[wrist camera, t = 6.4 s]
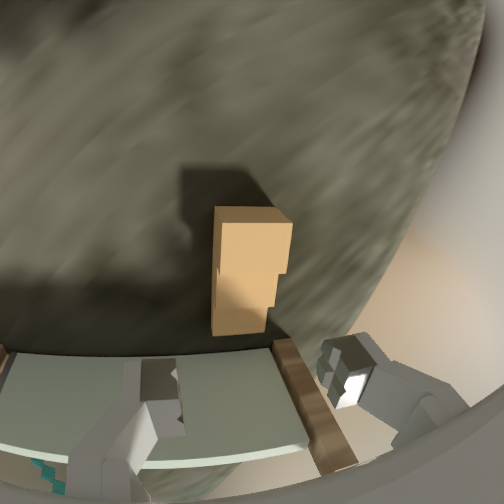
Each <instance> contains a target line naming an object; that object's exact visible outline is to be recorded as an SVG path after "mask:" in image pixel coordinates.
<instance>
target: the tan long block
mask: <svg viewBox="0 0 504 504" xmlns="http://www.w3.org/2000/svg"><path fill="white" fill-rule="evenodd" d="M292 226H293V223H292V222H291V221H290V220H289V219H288V218H287V217H285V216H284V215H283V214H282V213H281V212H280V211H279V210H278V209H277V208H276V207H252V206H215V210H214V233H213V262H212V303H211V330H212V335H213V336H225V335H238V334H251V333H262V332H265V325H266V317H267V309H268V307H274V303H275V296H276V288H277V281H278V274H286V269H287V262H288V255H289V248H290V241H291V233H292Z"/></svg>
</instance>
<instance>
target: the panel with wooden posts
mask: <svg viewBox="0 0 504 504" xmlns="http://www.w3.org/2000/svg"><path fill="white" fill-rule="evenodd" d="M271 354H272V356H273V359H274V361H275V363H276V366H277V368H278V370H279V372H280V375H281V377H282V379H283V381H284V384H285V386H286V388H287V391H288V393H289V395H290V397H291V399H292V402H293V404H294V406H295V408H296V411H297V413H298V415H299V417H300V420H301V422H302V424H303V426H304V428H305V431H306V433H307V435H308V437H309V439H310V441H309V444H308V448H309V451H310V453H311V455H312V457H313V460H314V462H315V464H316V466H317V468H318V471H319V473H320V475H321V477H322V476H325V475H328V474H331V473H334V472H337V471H340V470H343V469H346V468H349V467H352V466H355V465H357V464H358V463H359V462H358V460H357V458H356V456H355V455H354V453H353V451H352V449H351V447H350V445H349V444H348V442H347V440H346V438H345V436H344V434H343V433H342V431H341V429H340V427H339V425H338V424H337V422H336V420H335V418H334V416H333V414H332V413H331V411H330V409H329V407H328V406H327V403H326V401H325V400H324V398H323V396H322V394H321V393H320V390H319V389H318V387H317V385H316V383H315V381H314V379H313V378H312V376H311V374H310V372H309V370H308V368H307V366H306V365H305V363H304V361H303V359H302V357H301V355H300V353H299V352H298V350H297V348H296V346H295V344H294V342H293V341H292V339H291V338H287V339H279V340H273V345H272V352H271ZM8 357H9V356H8V354H7V352H6V350H5V348H4V345H1V344H0V375H1V372H2V370H3V368H4V366H5V364H6V361H7V359H8Z"/></svg>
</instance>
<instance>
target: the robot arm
mask: <svg viewBox="0 0 504 504" xmlns="http://www.w3.org/2000/svg"><path fill="white" fill-rule="evenodd" d="M321 351H322V353H323V355H322V356H321V357H320V358H319V359H318V362H317V366H316V368H317V376H318V379H319V381H320V383H321V385H322V386H323V387H326V388H327V389H329V390H328V394H327V396H328V398H329V399H330V401H331V403H332V405H333V406H334V408H335V410H336V409H340V408H344V407H348V406H351V405H355V404H358V405H359V406H360V407H361V408H363V409H364V410H366V411H368V412H369V413H370V414H372V415H374V416H375V417H377V418H378V419H380V420H381V421H383V422H384V423H386V424H388V425H389V426H391V427H392V428H394V429H396V430H397V431H399V432H398V434H397V435H396V436H395V438H394V439H393V441H392V443H391V446H392V447H393V449H394V450H392V451H389V452H387V453H385V454H382V455H380V456H378V457H375V458H373V459H370V460H368V461H365V462H363V463H360V464H357V465H355V466H352V467H349V468H346V469H343V470H340V471H337V472H334V473H331V474H328V475H325V476H322V477H319V478H315V479H312V480H308V481H305V482H301V483H297V484H293V485H289V486H285V487H281V488H276V489H271V490H267V491H262V492H256V493H251V494H246V495H239V496H232V497H225V498H217V499H208V500H197V501H182V502H151V500H150V495H149V494H148V492H147V491H146V489H145V488H144V486H143V485H142V483H141V482H140V480H139V479H138V477H137V474H138V472H139V471H140V469H141V467H142V466H143V464H144V462H145V461H146V459H147V457H148V455H149V454H150V452H151V450H152V449H153V447H154V445H155V444H156V442H157V440H158V438H161V437H175V436H186V432H185V424H184V416H183V410H182V398H181V390H180V383H179V377H178V370H177V363H176V358H164V359H126V360H125V362H124V367H123V377H122V388H121V400H120V402H115V403H114V404H113V405H112V406H111V408H110V409H109V410H108V411H107V412H106V413H105V414H104V415H103V416H102V418H101V419H100V420H99V421H98V422H97V423H96V424H95V425H94V426H93V428H92V429H91V430H90V431H89V432H88V433H87V434H86V435H85V436H84V438H83V439H82V440H81V441H80V442H79V443H78V444H77V445H76V446H75V448H74V449H73V450H72V451H71V452H70V453H69V456H68V465H67V474H66V486H65V495H59V494H54V493H48V492H44V491H39V490H35V489H30V488H26V487H22V486H18V485H15V484H11V483H8V482H4V481H1V480H0V504H504V384H503V385H502V386H501V387H499V388H498V389H497V390H495V391H494V392H493V393H491V394H490V395H488V396H487V397H485V398H484V399H483V400H481V401H480V402H478V403H477V404H475V405H474V406H472V407H471V408H470V407H469V406H468V405H467V403H466V402H465V401H464V400H463V399H462V398H461V396H460V395H459V394H458V393H457V392H456V391H455V390H454V388H453V387H452V386H451V385H450V384H448V383H446V382H443V381H441V380H439V379H436V378H434V377H432V376H429V375H427V374H424V373H422V372H420V371H418V370H415V369H413V368H411V367H408V366H406V365H404V364H401V363H399V362H397V361H395V360H394V361H390V360H389V358H388V357H387V356H386V355H385V354H384V352H383V351H382V350H381V349H380V347H379V346H378V345H377V344H376V343H375V341H374V340H373V339H372V338H371V337H370V335H369V334H368V333H366V332H361V333H357V334H352V335H348V336H343V337H338V338H333V339H328V340H324V342H323V343H322V346H321Z"/></svg>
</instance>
